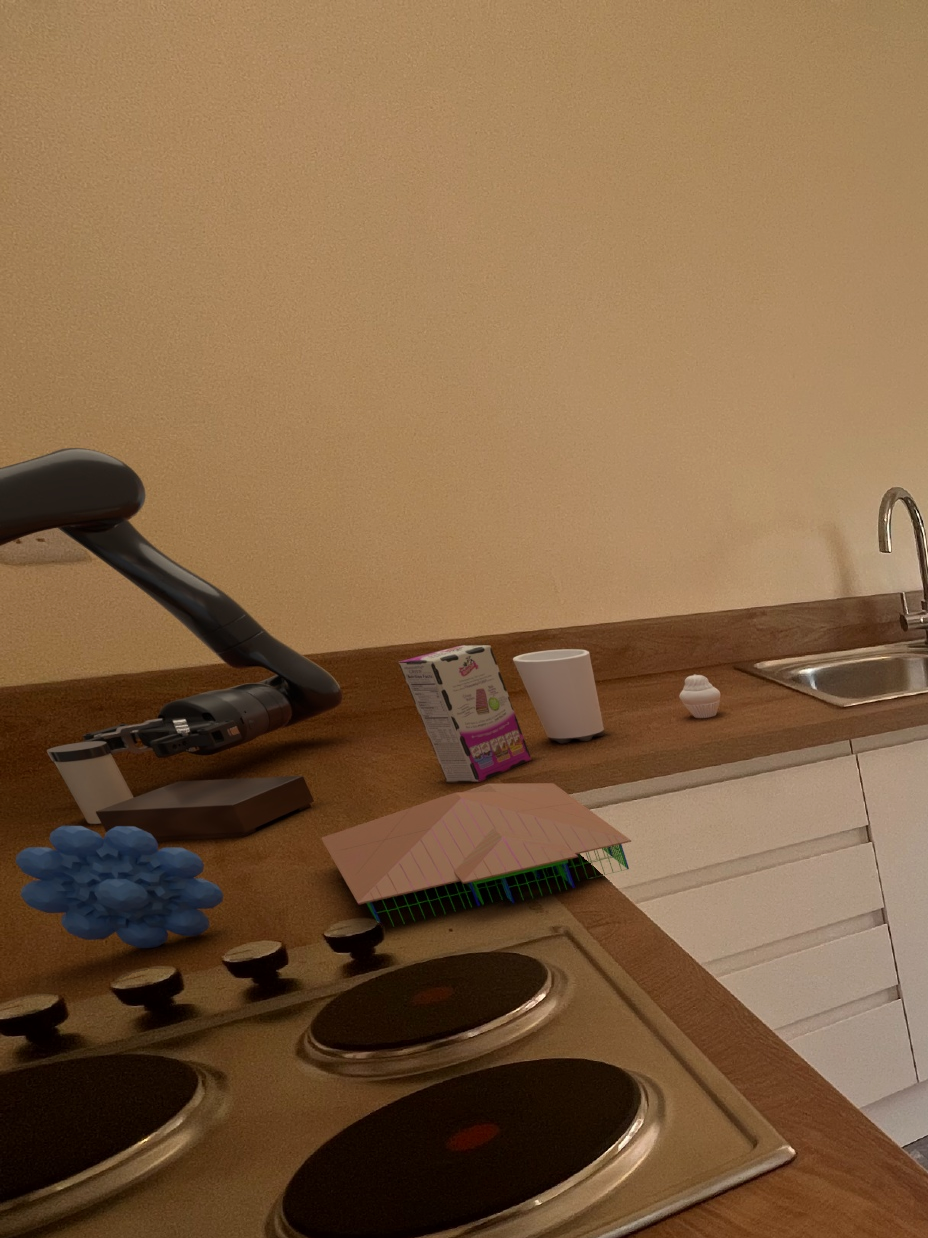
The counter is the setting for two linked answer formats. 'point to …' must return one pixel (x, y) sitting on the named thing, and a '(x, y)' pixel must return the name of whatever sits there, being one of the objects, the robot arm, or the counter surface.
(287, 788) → the platform
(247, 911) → the counter surface
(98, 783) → the spice jar
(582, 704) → the cup
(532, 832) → the house
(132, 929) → the blue flower
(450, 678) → the candy bar box
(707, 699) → the muffin
